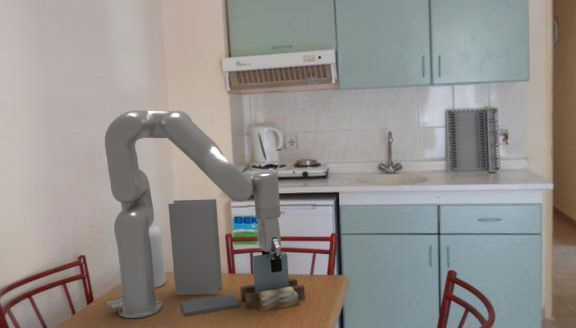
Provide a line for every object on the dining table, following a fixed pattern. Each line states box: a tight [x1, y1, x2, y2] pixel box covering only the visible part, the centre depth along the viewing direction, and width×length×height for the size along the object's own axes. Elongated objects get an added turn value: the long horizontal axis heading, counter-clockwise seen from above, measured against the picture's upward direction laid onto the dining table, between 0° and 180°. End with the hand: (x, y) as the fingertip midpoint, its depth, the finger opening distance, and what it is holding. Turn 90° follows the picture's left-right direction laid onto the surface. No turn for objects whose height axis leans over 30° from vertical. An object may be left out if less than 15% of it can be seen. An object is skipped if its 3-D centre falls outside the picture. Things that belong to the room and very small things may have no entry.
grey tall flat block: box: [168, 198, 223, 296], centre depth 168 cm, size 14×6×30 cm, turn 84°
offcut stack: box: [257, 287, 301, 313], centre depth 154 cm, size 12×4×5 cm, turn 108°
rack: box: [239, 277, 306, 310], centre depth 160 cm, size 18×8×4 cm, turn 108°
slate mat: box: [180, 293, 240, 317], centre depth 157 cm, size 16×9×1 cm, turn 108°
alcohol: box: [149, 219, 166, 289], centre depth 177 cm, size 9×9×30 cm
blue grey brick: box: [252, 251, 290, 292], centre depth 159 cm, size 10×3×14 cm, turn 108°
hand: (272, 267), depth 159 cm, fingers open, 9 cm apart
